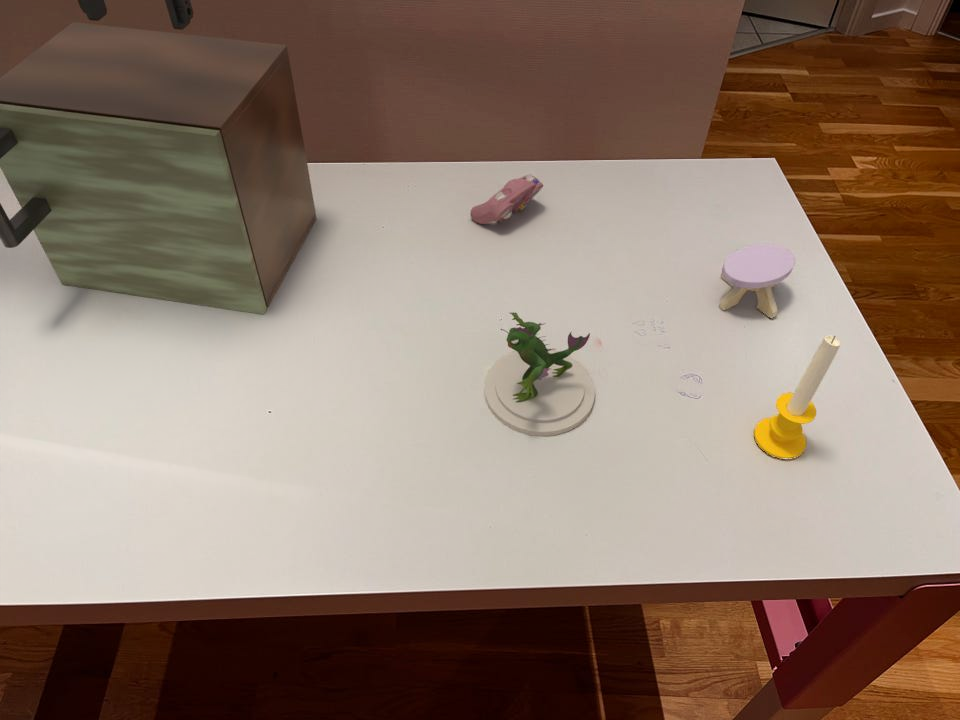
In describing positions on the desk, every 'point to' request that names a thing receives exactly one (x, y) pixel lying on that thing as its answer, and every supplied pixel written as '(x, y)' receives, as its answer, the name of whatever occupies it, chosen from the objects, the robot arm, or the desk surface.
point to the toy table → (756, 274)
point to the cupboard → (192, 114)
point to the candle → (796, 408)
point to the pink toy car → (507, 200)
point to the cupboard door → (129, 206)
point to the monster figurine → (539, 384)
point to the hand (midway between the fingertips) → (140, 21)
